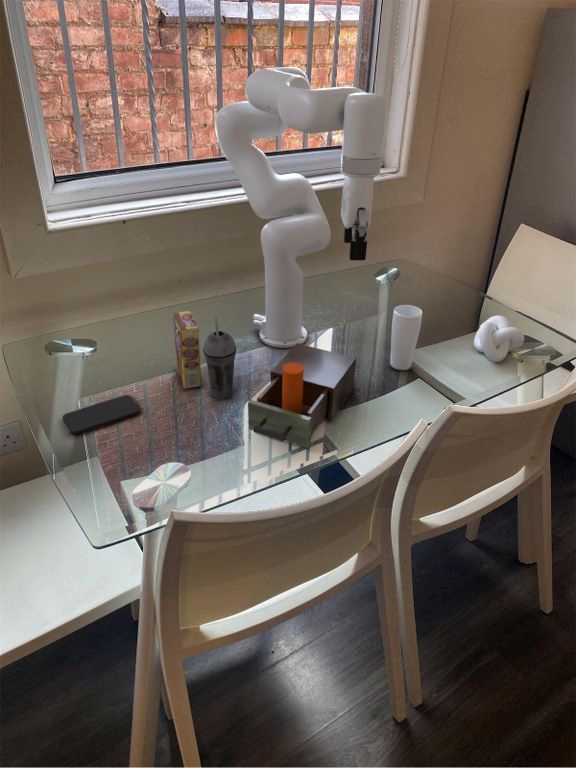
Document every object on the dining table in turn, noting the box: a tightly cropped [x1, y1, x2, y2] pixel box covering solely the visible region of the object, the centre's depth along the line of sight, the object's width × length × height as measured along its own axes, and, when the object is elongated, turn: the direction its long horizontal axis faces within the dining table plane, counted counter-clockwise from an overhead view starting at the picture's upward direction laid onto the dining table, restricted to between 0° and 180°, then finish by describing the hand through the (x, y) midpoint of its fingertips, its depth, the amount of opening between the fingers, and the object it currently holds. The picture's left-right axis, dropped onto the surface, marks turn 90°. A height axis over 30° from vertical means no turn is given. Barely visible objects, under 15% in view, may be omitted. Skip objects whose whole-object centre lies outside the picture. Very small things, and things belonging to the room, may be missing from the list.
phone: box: [62, 394, 141, 435], centre depth 129 cm, size 7×1×15 cm
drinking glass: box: [389, 304, 423, 371], centre depth 144 cm, size 7×7×15 cm
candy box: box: [172, 311, 202, 389], centre depth 138 cm, size 9×4×15 cm, turn 20°
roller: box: [282, 363, 304, 415], centre depth 123 cm, size 4×4×12 cm
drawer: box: [247, 376, 330, 449], centre depth 124 cm, size 17×13×7 cm
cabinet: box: [270, 343, 357, 422], centre depth 134 cm, size 14×15×9 cm
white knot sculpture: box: [473, 314, 525, 363], centre depth 152 cm, size 11×12×9 cm
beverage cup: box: [202, 315, 237, 400], centre depth 131 cm, size 7×7×20 cm
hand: (354, 250), depth 124 cm, fingers open, 9 cm apart
